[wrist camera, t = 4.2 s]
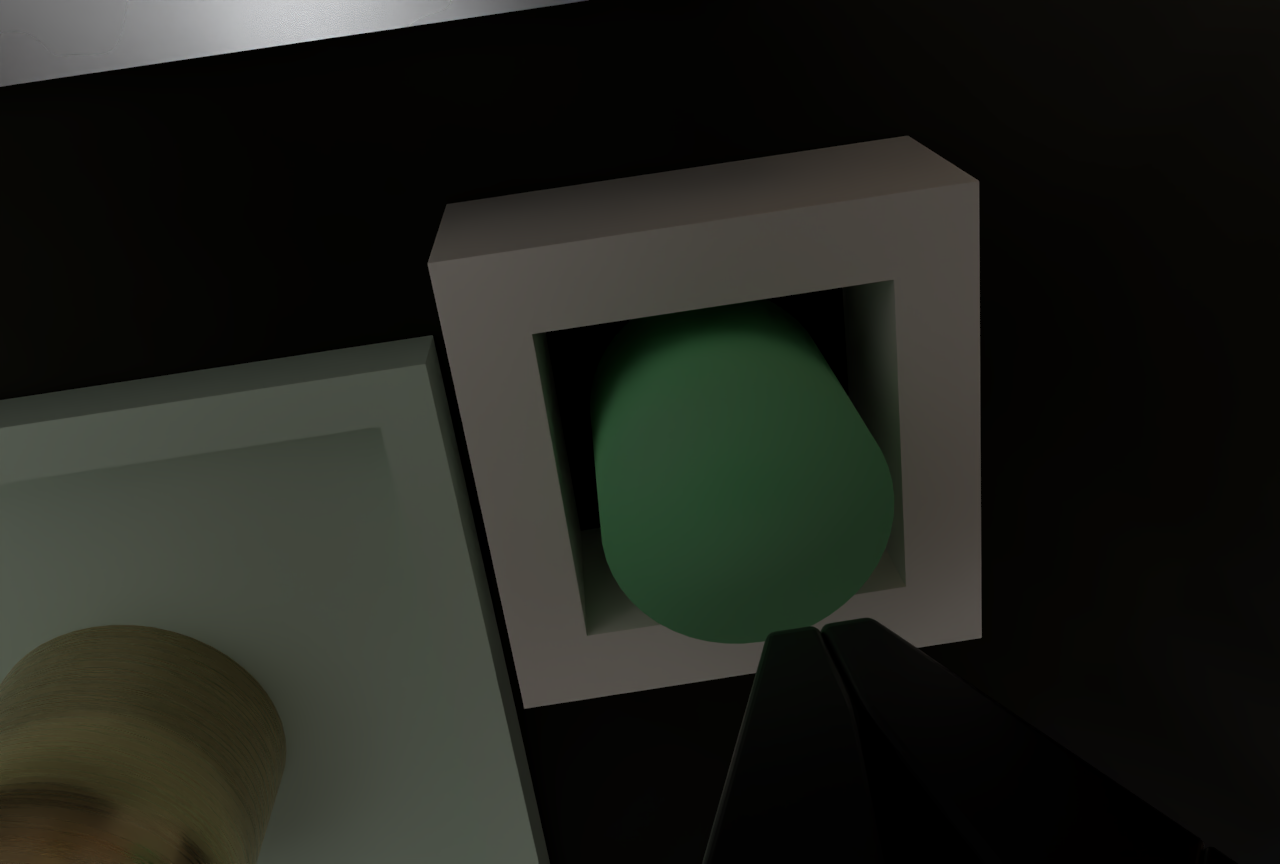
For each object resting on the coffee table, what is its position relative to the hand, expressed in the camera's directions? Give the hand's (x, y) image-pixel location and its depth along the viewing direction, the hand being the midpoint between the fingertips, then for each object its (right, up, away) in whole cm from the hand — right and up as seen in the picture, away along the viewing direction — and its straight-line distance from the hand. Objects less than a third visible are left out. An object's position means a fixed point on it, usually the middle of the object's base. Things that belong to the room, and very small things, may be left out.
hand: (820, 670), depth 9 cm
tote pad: (-8, -2, +7) cm, 12 cm away
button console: (-1, +3, +6) cm, 6 cm away
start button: (-1, +2, +5) cm, 6 cm away
